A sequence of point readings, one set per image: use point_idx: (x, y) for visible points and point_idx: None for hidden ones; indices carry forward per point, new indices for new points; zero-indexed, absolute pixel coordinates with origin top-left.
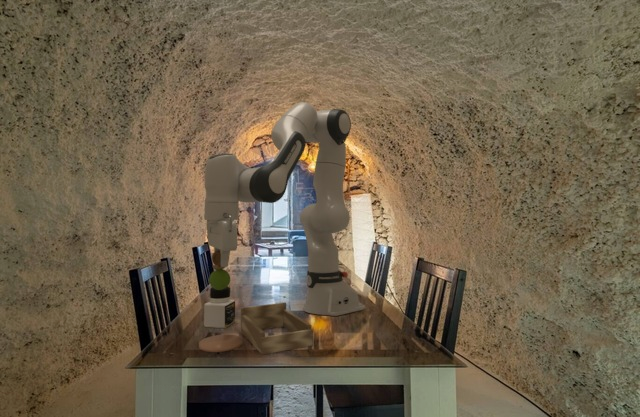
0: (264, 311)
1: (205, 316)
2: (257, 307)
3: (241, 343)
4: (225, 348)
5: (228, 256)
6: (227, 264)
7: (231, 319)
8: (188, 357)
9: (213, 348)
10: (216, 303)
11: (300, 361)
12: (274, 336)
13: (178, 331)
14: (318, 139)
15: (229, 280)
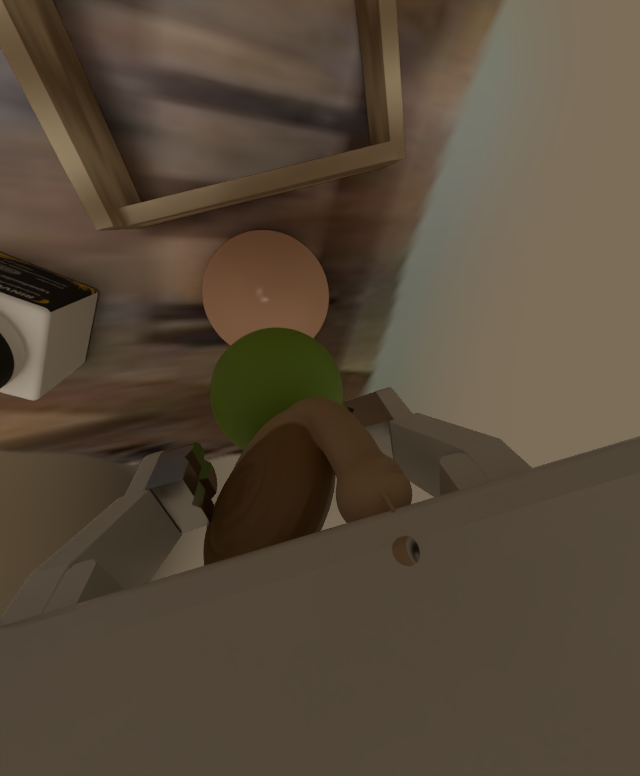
0: (54, 77)
1: (66, 373)
2: (65, 123)
3: (280, 232)
4: (327, 284)
5: (458, 431)
6: (394, 396)
7: (25, 268)
8: (340, 367)
9: (322, 316)
10: (26, 353)
11: (482, 26)
12: (401, 97)
13: (135, 424)
14: None
15: (299, 332)
